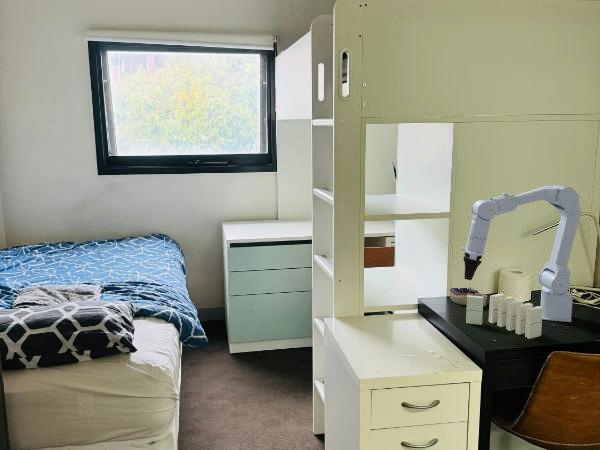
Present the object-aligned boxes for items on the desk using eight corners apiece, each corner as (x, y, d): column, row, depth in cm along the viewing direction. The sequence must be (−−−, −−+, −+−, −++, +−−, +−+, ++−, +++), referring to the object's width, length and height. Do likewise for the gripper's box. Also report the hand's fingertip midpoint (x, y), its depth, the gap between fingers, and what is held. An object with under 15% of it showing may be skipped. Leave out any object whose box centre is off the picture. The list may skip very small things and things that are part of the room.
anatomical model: (475, 294, 210) (476, 282, 209) (492, 308, 194) (493, 295, 193) (444, 295, 209) (444, 283, 208) (459, 309, 193) (459, 297, 192)
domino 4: (506, 329, 174) (507, 301, 172) (517, 326, 176) (519, 299, 174) (510, 330, 172) (511, 303, 171) (521, 328, 175) (523, 300, 173)
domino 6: (525, 337, 167) (526, 308, 166) (536, 334, 169) (538, 306, 168) (529, 338, 166) (531, 310, 164) (540, 335, 168) (542, 307, 166)
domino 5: (515, 332, 170) (517, 305, 169) (526, 330, 173) (528, 302, 171) (519, 334, 169) (521, 306, 167) (531, 331, 171) (533, 304, 170)
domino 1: (466, 321, 181) (467, 295, 179) (482, 323, 179) (483, 296, 178) (465, 323, 179) (467, 296, 178) (482, 324, 178) (483, 298, 176)
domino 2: (488, 321, 180) (489, 295, 179) (499, 319, 182) (501, 293, 181) (492, 323, 179) (493, 296, 177) (503, 320, 181) (505, 294, 179)
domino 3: (497, 325, 177) (498, 298, 175) (508, 322, 179) (509, 296, 178) (501, 327, 176) (502, 300, 174) (512, 324, 178) (513, 297, 176)
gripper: (465, 231, 185) (456, 270, 188) (464, 237, 172) (454, 278, 174) (487, 236, 183) (478, 275, 186) (487, 242, 170) (477, 284, 172)
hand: (468, 277), depth 180 cm, fingers open, 7 cm apart
